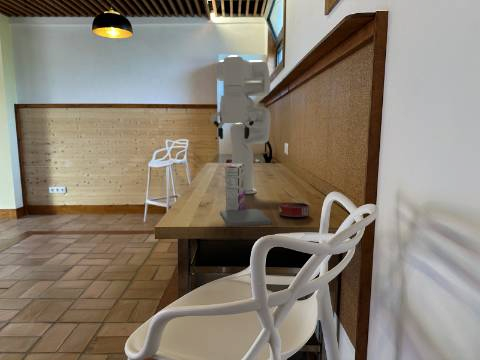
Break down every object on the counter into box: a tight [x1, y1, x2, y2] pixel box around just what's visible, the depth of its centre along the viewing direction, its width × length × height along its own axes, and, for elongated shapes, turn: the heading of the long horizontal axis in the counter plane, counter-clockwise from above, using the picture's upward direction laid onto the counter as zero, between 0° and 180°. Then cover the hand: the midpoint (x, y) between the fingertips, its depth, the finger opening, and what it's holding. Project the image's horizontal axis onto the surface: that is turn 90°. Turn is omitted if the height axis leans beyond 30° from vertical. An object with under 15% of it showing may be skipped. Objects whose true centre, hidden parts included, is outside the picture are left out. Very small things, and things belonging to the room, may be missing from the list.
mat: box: [219, 208, 272, 227], centre depth 105 cm, size 16×13×1 cm
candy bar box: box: [225, 163, 246, 210], centre depth 117 cm, size 11×5×16 cm, turn 169°
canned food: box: [278, 187, 310, 218], centre depth 108 cm, size 11×10×10 cm
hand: (233, 138), depth 125 cm, fingers open, 9 cm apart
